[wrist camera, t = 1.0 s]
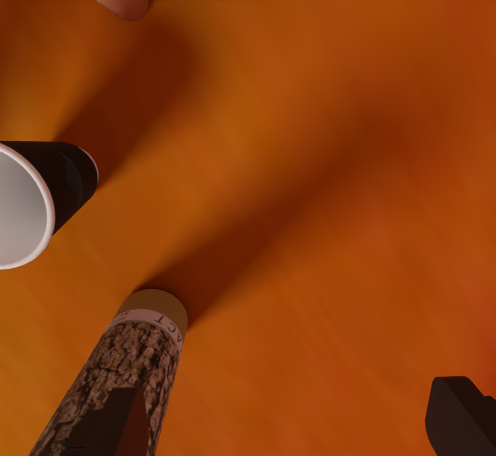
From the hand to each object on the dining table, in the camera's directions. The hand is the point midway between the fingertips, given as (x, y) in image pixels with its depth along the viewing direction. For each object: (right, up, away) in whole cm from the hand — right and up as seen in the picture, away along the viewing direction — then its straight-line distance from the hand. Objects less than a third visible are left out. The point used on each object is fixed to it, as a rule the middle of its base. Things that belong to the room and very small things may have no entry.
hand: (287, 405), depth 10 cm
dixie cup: (-16, +10, +21) cm, 28 cm away
